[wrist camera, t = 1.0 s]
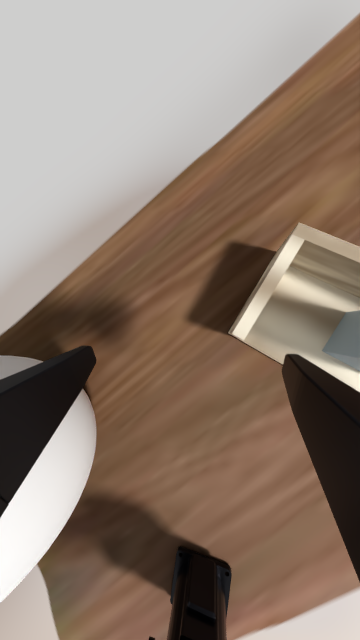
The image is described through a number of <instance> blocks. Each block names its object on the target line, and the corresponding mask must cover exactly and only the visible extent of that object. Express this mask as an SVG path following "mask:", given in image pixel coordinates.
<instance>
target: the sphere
mask: <svg viewBox="0 0 360 640" xmlns="http://www.w3.org/2000/svg"><path fill="white" fill-rule="evenodd" d="M42 362H43V361H40V360H36V359H32V358H27V357H18V356H0V380H1V379H3V378H6V377H8V376H10V375H13V374H15V373H18V372H20V371H22V370H25V369H27V368H30V367H32V366H35V365H37V364H39V363H42ZM95 448H96V420H95V415H94V410H93V407H92V404H91V402H90V400H89V397H88V396H87V394H86V392H85V391H84V389H82V390H81V392H80V394H79V395H78V397H77V398H76V400H75V402H74V403H73V405H72V406H71V408H70V409H69V411H68V413H67V414H66V416H65V417H64V419H63V420H62V422H61V423H60V425H59V427H58V428H57V430H56V431H55V433H54V434H53V436H52V438H51V439H50V441H49V442H48V444H47V445H46V447H45V448H44V450H43V452H42V453H41V455H40V456H39V458H38V459H37V461H36V463H35V464H34V466H33V467H32V469H31V470H30V472H29V473H28V475H27V477H26V478H25V480H24V481H23V483H22V484H21V486H20V488H19V489H18V491H17V492H16V494H15V495H14V497H13V498H12V500H11V502H10V503H9V505H8V507H7V508H6V510H5V511H4V513H3V514H2V516H1V518H0V602H1V601H3V600H4V599H5V598H6V597H7V596H8V595H9V594H10V593H11V592H12V591H13V590H14V588H15V587H16V586H17V585H18V584H19V583H20V582H21V581H22V580H23V579H24V578H25V577H26V576H27V575H28V573H29V572H30V571H31V570H32V569H33V568H34V566H35V565H36V564H37V563H38V562H39V560H40V559H41V558H42V557H43V555H44V554H45V553H46V552H47V550H48V549H49V548H50V546H51V545H52V543H53V542H54V541H55V539H56V538H57V536H58V535H59V533H60V532H61V530H62V529H63V527H64V526H65V524H66V522H67V521H68V519H69V517H70V516H71V514H72V512H73V510H74V508H75V506H76V505H77V503H78V501H79V499H80V496H81V494H82V492H83V490H84V487H85V485H86V482H87V479H88V477H89V474H90V470H91V467H92V463H93V459H94V454H95Z"/></svg>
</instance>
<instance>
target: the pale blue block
mask: <svg viewBox="0 0 360 640" xmlns="http://www.w3.org/2000/svg"><path fill="white" fill-rule="evenodd" d="M322 351H323V352H325V353H327V354H329V355H330V356H332V357H334V358H336V359H338V360H340V361H342V362H343V363H345V364H347V365H349V366H351V367H353V368H355V369H357V370H358V371H360V310H359V311H352V312H346V313H345V315H344V317H343V318H342V320H341V321H340V323H339V324H338V326H337V328H336V329H335V331H334V332H333V334H332V335H331V337H330V339H329V340H328V342H327V343H326V345H325V346H324V348H323V350H322Z"/></svg>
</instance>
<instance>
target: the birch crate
mask: <svg viewBox="0 0 360 640" xmlns="http://www.w3.org/2000/svg"><path fill="white" fill-rule="evenodd" d="M359 310H360V247H359V246H356V245H354V244H351V243H349V242H346V241H344V240H341V239H339V238H336V237H334V236H331V235H329V234H326V233H324V232H321V231H319V230H316V229H314V228H311V227H309V226H307V225H304V224H302V223H298V224H297V226H296V227H295V228H294V230H293V231H292V232H291V234H290V235H289V236H288V237H287V239H286V240H285V241H284V243H283V244H282V245H281V247H280V248H279V249H278V250H277V252H276V253H275V255H274V257H273V258H272V260H271V262H270V263H269V265H268V267H267V268H266V270H265V272H264V273H263V275H262V277H261V278H260V280H259V282H258V283H257V285H256V287H255V288H254V290H253V292H252V293H251V295H250V297H249V298H248V300H247V302H246V303H245V305H244V307H243V308H242V310H241V312H240V313H239V315H238V317H237V318H236V320H235V322H234V323H233V325H232V327H231V328H230V330H229V332H228V333H229V334H230V335H232V336H234V337H236V338H237V339H239V340H241V341H243V342H244V343H246V344H248V345H250V346H251V347H253V348H255V349H256V350H258V351H260V352H262V353H263V354H265V355H267V356H269V357H270V358H272V359H274V360H276V361H277V362H279V363H281V364H283V363H284V358H285V355H286V354H299V355H300V356H302V357H304V358H305V359H307V360H308V361H310V362H312V363H313V364H315V365H316V366H318V367H320V368H321V369H323V370H325V371H326V372H328V373H329V374H331V375H333V376H334V377H336V378H338V379H339V380H341V381H342V382H344V383H346V384H347V385H349V386H351V387H352V388H354V389H355V390H357V391H359V392H360V371H358V370H357V369H355V368H353V367H351V366H349V365H347V364H345V363H343V362H342V361H340V360H338V359H336V358H334V357H332V356H330V355H329V354H327V353H325V352H323V351H322V350H323V348H324V346H325V345H326V343H327V342H328V340H329V339H330V337H331V335H332V334H333V332H334V331H335V329H336V328H337V326H338V324H339V323H340V321H341V320H342V318H343V317H344V315H345V313H346V312H352V311H359Z"/></svg>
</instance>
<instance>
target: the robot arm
mask: <svg viewBox="0 0 360 640" xmlns="http://www.w3.org/2000/svg"><path fill="white" fill-rule="evenodd" d="M95 364H96V357H95V354H94V351H93V349H92V347H91V346H80V347H78V348H75V349H73V350H71V351H68V352H66V353H63V354H61V355H59V356H56V357H54V358H51V359H49V360H47V361H44V362H42V363H39V364H37V365H35V366H32V367H30V368H27V369H25V370H22V371H20V372H18V373H15V374H13V375H10V376H8V377H6V378H3V379H1V380H0V518H1V516H2V514H3V513H4V511H5V510H6V508H7V507H8V505H9V503H10V502H11V500H12V498H13V497H14V495H15V494H16V492H17V491H18V489H19V488H20V486H21V484H22V483H23V481H24V480H25V478H26V477H27V475H28V473H29V472H30V470H31V469H32V467H33V466H34V464H35V463H36V461H37V459H38V458H39V456H40V455H41V453H42V452H43V450H44V448H45V447H46V445H47V444H48V442H49V441H50V439H51V438H52V436H53V434H54V433H55V431H56V430H57V428H58V427H59V425H60V423H61V422H62V420H63V419H64V417H65V416H66V414H67V413H68V411H69V409H70V408H71V406H72V405H73V403H74V402H75V400H76V398H77V397H78V395H79V394H80V392H81V390H82V389H83V387H84V385H85V383H86V381H87V379H88V377H89V375H90V373H91V372H92V370H93V368H94V366H95ZM282 375H283V379H284V383H285V387H286V390H287V394H288V398H289V401H290V405H291V408H292V412H293V414H294V417H295V420H296V422H297V425H298V427H299V430H300V432H301V435H302V437H303V440H304V442H305V445H306V447H307V450H308V452H309V455H310V458H311V460H312V463H313V465H314V468H315V470H316V473H317V475H318V478H319V480H320V483H321V485H322V488H323V490H324V493H325V495H326V498H327V501H328V503H329V506H330V508H331V511H332V513H333V516H334V518H335V521H336V523H337V526H338V528H339V531H340V533H341V536H342V538H343V541H344V544H345V546H346V549H347V551H348V554H349V556H350V559H351V561H352V564H353V566H354V569H355V571H356V574H357V576H358V579H359V581H360V392H359V391H357V390H355V389H354V388H352V387H351V386H349V385H347V384H346V383H344V382H342V381H341V380H339V379H338V378H336V377H334V376H333V375H331V374H329V373H328V372H326V371H325V370H323V369H321V368H320V367H318V366H316V365H315V364H313V363H312V362H310V361H308V360H307V359H305V358H304V357H302V356H300V355H299V354H286V355H285V358H284V363H283V367H282ZM226 571H227V572H226ZM230 584H231V568H230V566H228V565H226V564H224V563H221V562H219V561H216V560H214V559H211V558H209V557H206V556H204V555H201V554H199V553H196V552H194V551H191V550H189V549H186V548H184V547H181V546H180V547H178V549H177V554H176V562H175V569H174V577H173V584H172V592H171V599H170V602H171V604H172V611H171V617H170V623H169V630H168V636H167V640H227V638H226V616H227V608H228V600H229V592H230ZM149 640H155V638H153V637H149Z"/></svg>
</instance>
